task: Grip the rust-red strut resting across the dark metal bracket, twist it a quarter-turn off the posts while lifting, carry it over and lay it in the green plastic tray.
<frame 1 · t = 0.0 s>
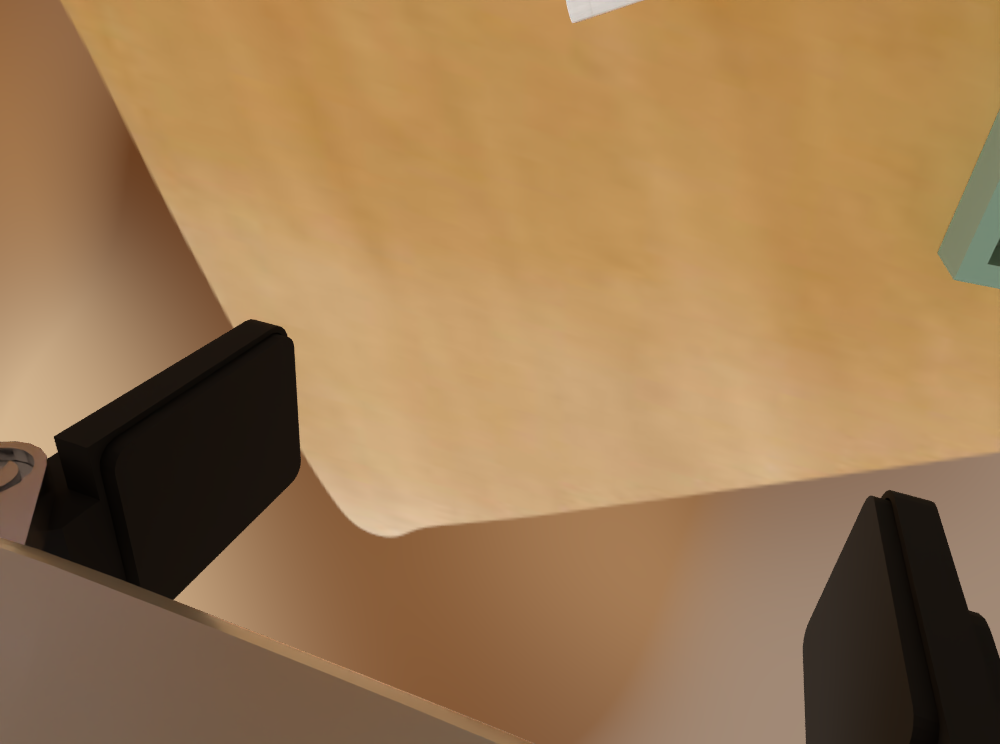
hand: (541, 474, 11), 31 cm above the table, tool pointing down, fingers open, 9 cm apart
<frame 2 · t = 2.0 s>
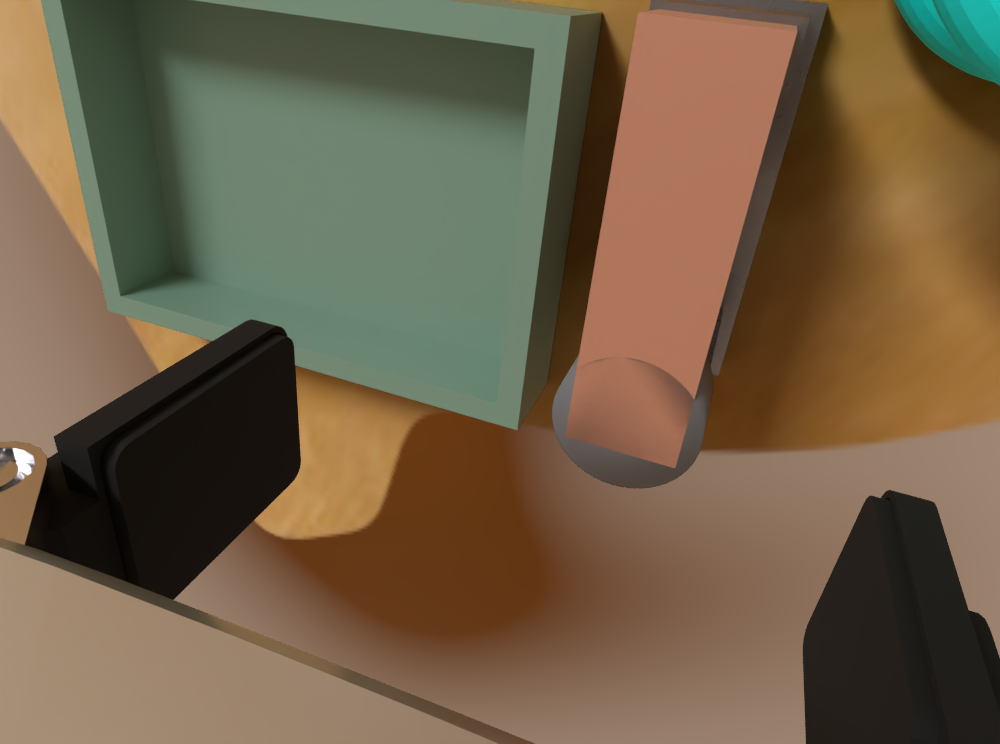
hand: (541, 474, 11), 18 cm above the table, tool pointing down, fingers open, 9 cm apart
bracket: (696, 195, 26), on the table
tray: (340, 175, 30), on the table
strut: (675, 239, 21), point 5 cm above the table, touching bracket
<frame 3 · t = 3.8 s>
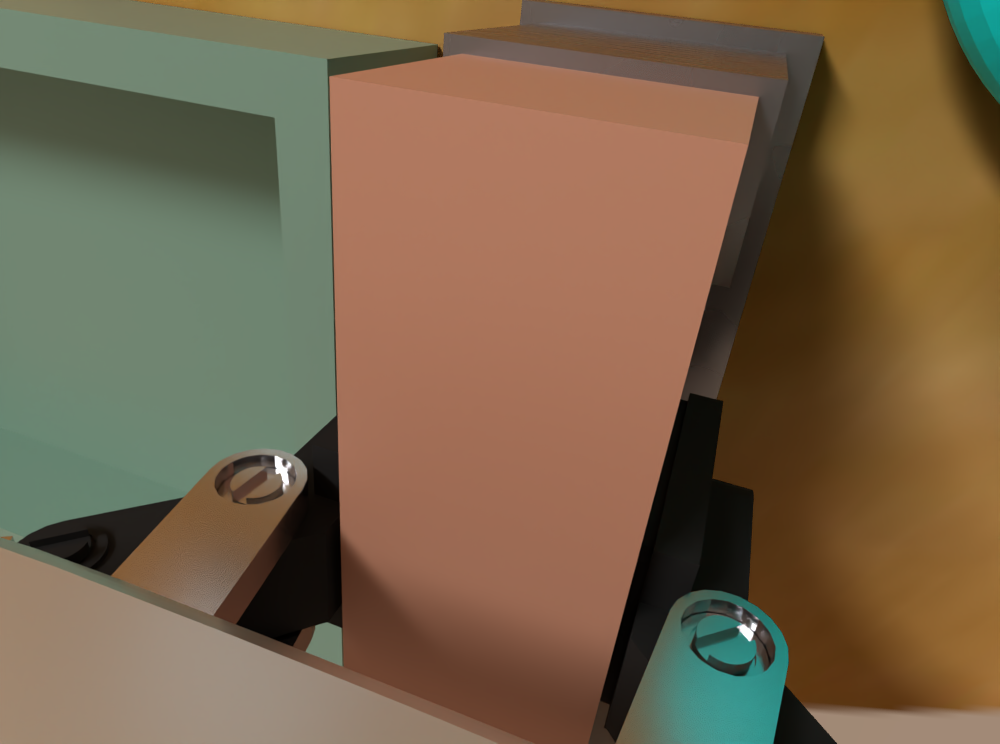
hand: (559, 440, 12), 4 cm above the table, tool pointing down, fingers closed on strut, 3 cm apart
bracket: (609, 340, 16), on the table
tray: (93, 279, 20), on the table
strut: (538, 481, 11), point 6 cm above the table, touching bracket, gripper
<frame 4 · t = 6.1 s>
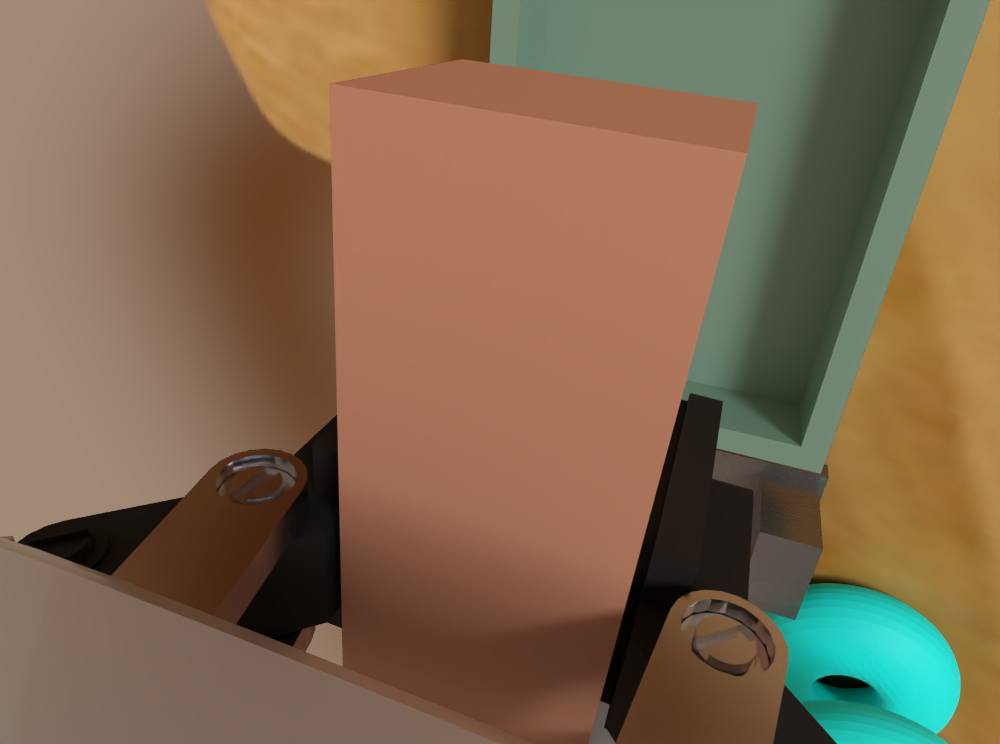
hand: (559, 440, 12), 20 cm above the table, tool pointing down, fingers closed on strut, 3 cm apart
bracket: (673, 472, 35), on the table
tray: (694, 159, 28), on the table
strut: (537, 485, 11), point 21 cm above the table, touching gripper
donuts: (839, 644, 36), on the table
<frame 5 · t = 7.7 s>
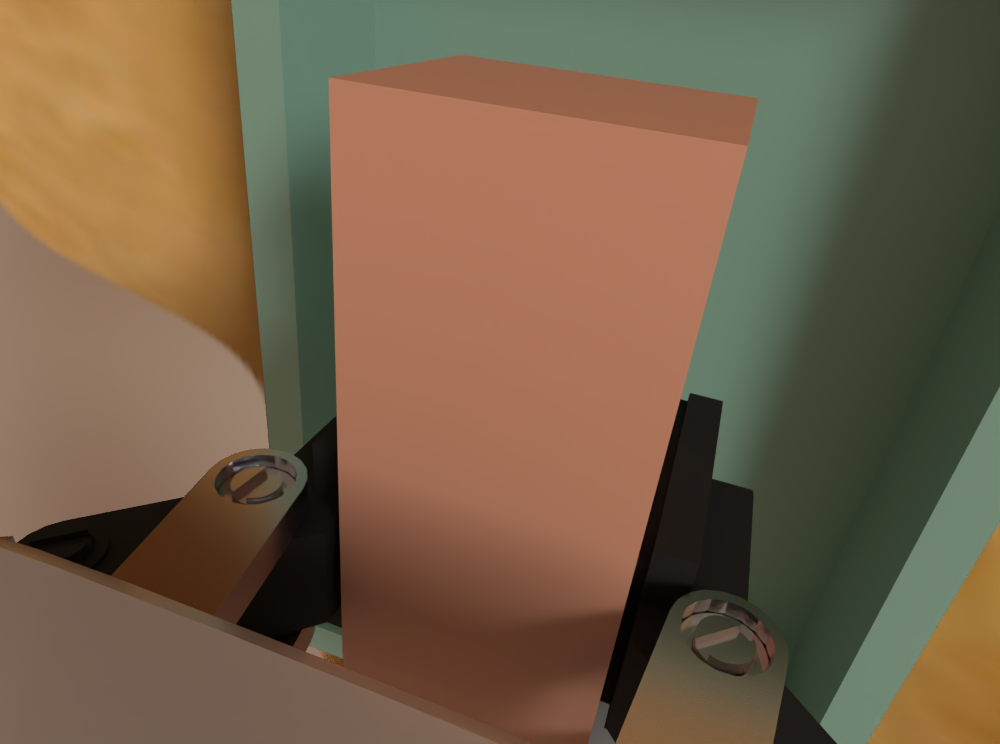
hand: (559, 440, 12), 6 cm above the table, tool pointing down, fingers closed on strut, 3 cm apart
tray: (619, 328, 17), on the table
strut: (537, 483, 11), point 7 cm above the table, touching gripper
when the fingers open (2 cm above the table, at t = 8.7 s): strut drops 3 cm, resting on tray.
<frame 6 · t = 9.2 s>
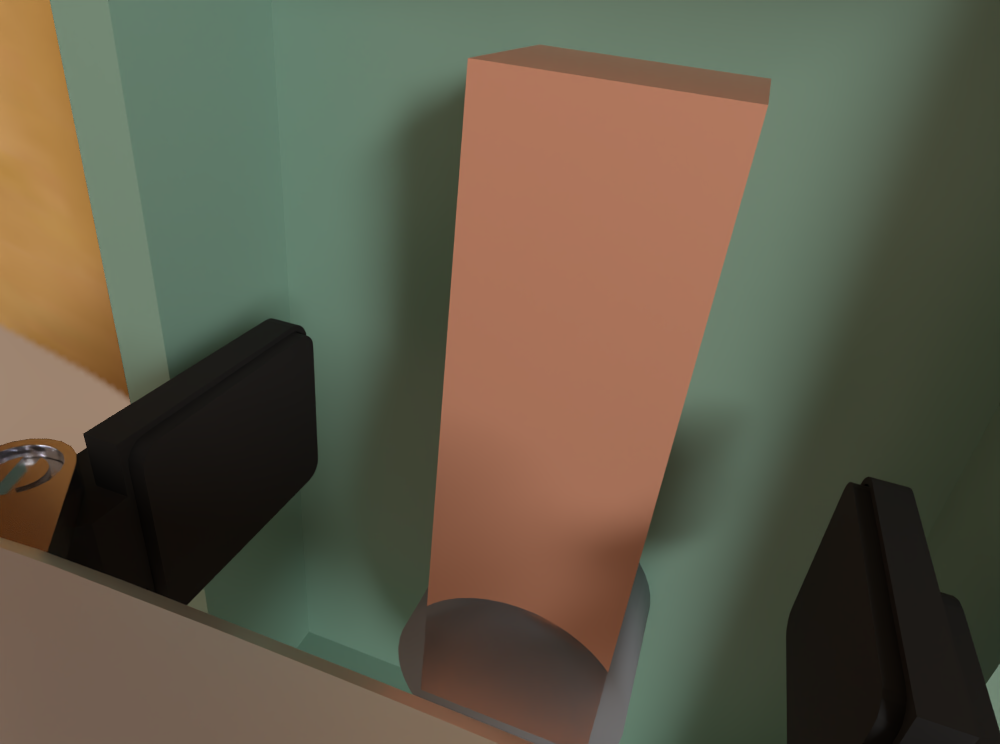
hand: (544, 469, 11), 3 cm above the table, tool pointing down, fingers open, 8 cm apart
tray: (584, 402, 14), on the table
strut: (584, 397, 13), point 1 cm above the table, touching tray
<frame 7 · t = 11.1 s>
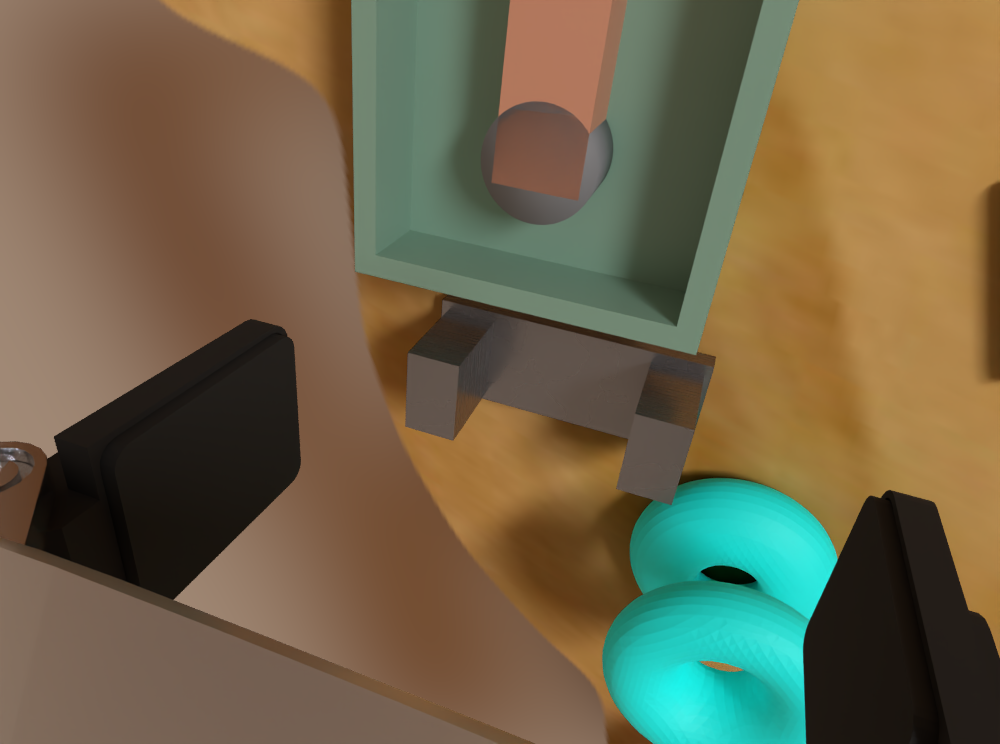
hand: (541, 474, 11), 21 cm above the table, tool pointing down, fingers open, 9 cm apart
bracket: (569, 367, 34), on the table
tray: (578, 25, 27), on the table
strut: (578, 13, 26), point 1 cm above the table, touching tray
donuts: (730, 541, 37), on the table
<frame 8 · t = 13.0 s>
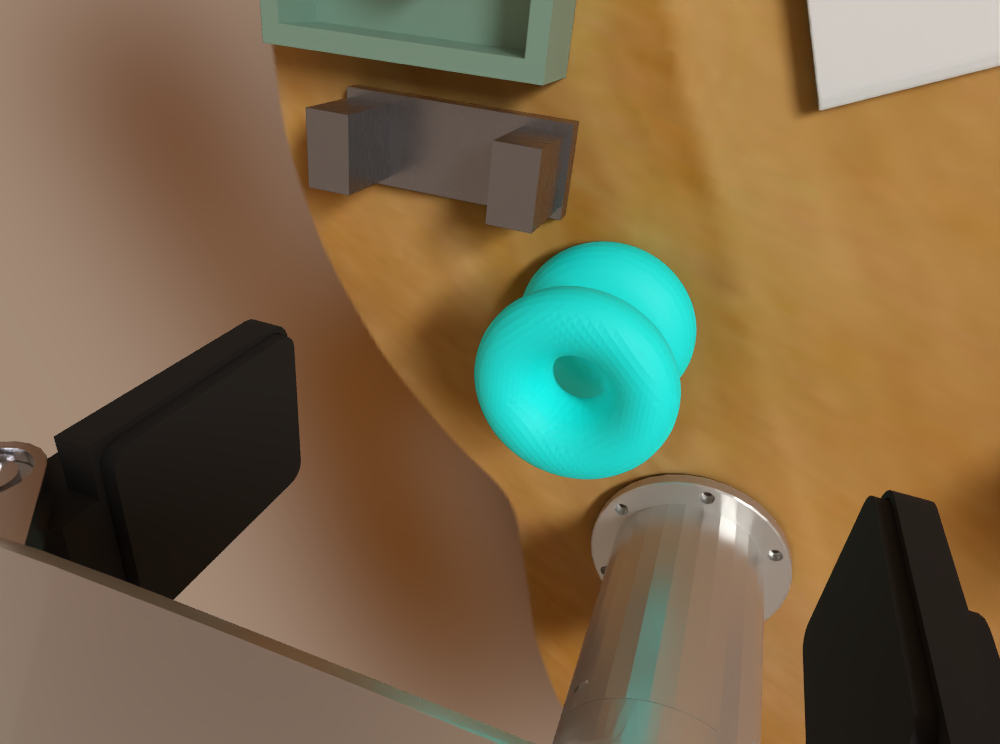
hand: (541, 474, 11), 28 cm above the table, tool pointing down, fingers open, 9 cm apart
bracket: (459, 149, 39), on the table
donuts: (610, 317, 41), on the table
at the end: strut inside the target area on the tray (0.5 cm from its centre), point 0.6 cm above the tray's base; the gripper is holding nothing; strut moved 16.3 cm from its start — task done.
